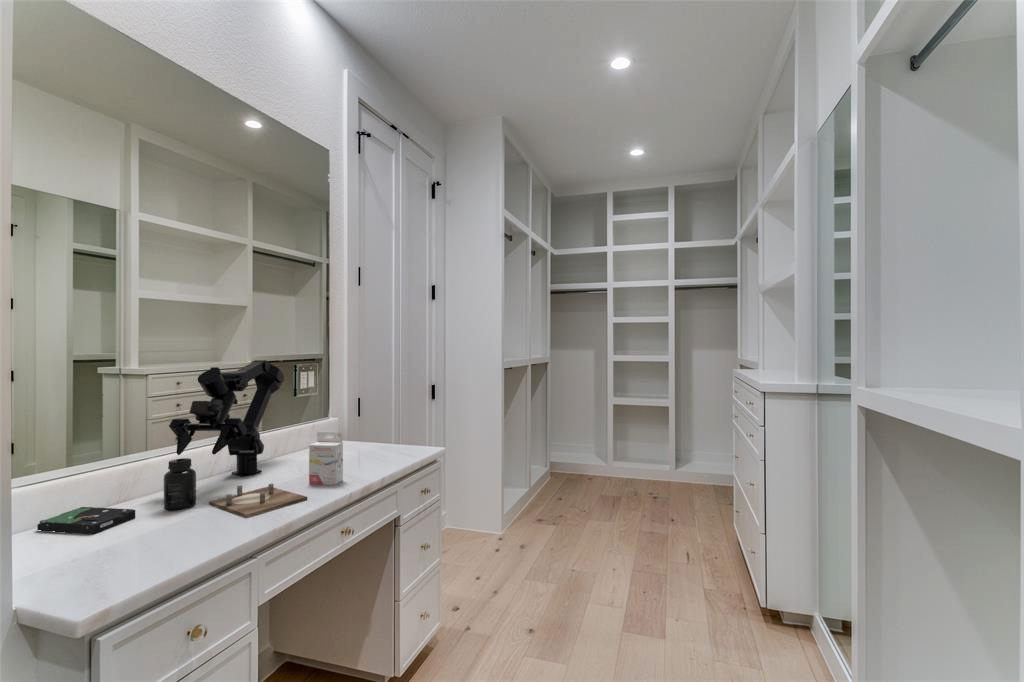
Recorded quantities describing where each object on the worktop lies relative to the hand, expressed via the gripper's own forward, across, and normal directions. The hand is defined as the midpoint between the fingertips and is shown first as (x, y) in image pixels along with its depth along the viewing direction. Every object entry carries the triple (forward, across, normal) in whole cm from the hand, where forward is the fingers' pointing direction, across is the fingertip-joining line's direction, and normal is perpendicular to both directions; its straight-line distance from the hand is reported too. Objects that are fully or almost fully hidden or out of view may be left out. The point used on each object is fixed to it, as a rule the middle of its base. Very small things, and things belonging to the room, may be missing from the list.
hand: (195, 454), depth 130 cm
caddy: (+11, +18, +6) cm, 22 cm away
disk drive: (+21, -14, -3) cm, 26 cm away
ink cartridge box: (-2, +29, +19) cm, 35 cm away
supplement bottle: (+13, 0, +4) cm, 14 cm away
